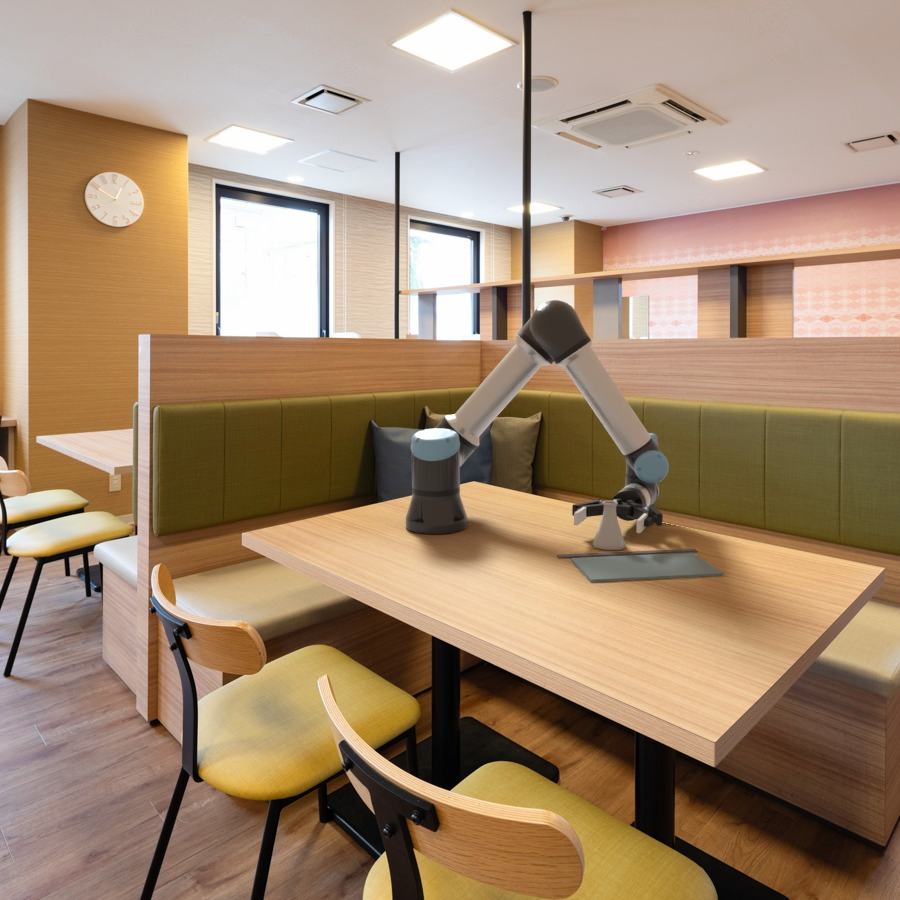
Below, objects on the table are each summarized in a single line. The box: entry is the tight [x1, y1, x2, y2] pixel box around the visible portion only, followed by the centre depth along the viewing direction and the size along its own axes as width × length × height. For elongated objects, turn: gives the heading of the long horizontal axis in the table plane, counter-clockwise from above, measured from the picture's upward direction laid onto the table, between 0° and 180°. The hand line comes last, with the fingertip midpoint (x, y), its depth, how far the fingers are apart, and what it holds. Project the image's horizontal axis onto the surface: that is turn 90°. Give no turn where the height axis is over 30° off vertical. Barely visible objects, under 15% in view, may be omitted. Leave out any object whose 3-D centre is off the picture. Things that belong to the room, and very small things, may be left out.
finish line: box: [556, 548, 699, 559], centre depth 142 cm, size 30×2×1 cm, turn 96°
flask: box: [592, 500, 627, 551], centre depth 147 cm, size 7×7×10 cm
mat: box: [570, 552, 725, 583], centre depth 133 cm, size 26×13×1 cm, turn 96°
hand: (606, 522), depth 144 cm, fingers open, 13 cm apart
